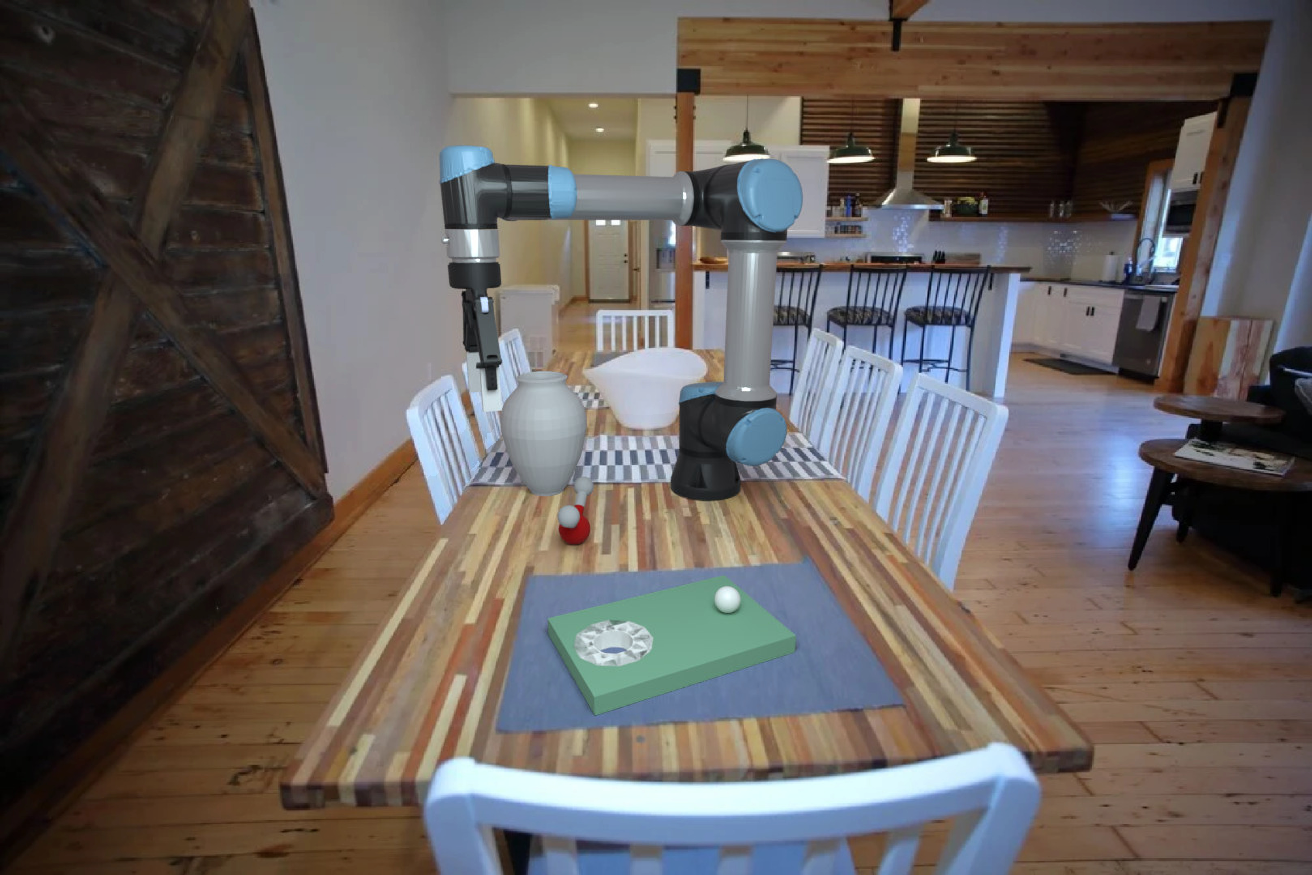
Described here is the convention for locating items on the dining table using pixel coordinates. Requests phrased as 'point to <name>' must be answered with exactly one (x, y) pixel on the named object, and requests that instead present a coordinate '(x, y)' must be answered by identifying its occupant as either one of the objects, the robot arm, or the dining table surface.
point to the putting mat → (664, 642)
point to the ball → (727, 599)
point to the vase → (544, 431)
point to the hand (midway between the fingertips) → (484, 400)
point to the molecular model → (576, 514)
